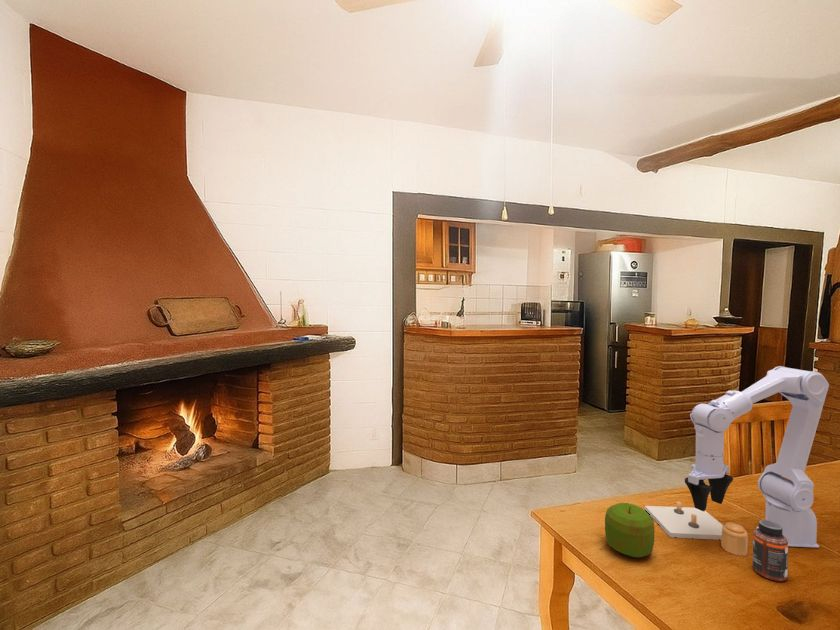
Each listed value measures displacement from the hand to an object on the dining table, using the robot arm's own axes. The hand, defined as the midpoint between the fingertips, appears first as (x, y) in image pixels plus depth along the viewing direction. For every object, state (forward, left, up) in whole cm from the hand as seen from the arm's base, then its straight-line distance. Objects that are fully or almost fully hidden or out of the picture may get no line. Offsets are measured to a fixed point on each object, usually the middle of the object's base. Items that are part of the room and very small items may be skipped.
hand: (708, 505), depth 102 cm
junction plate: (0, -8, -10) cm, 13 cm away
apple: (+21, +5, -10) cm, 24 cm away
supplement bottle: (-6, +11, -10) cm, 16 cm away
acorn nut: (-5, +3, -10) cm, 11 cm away
